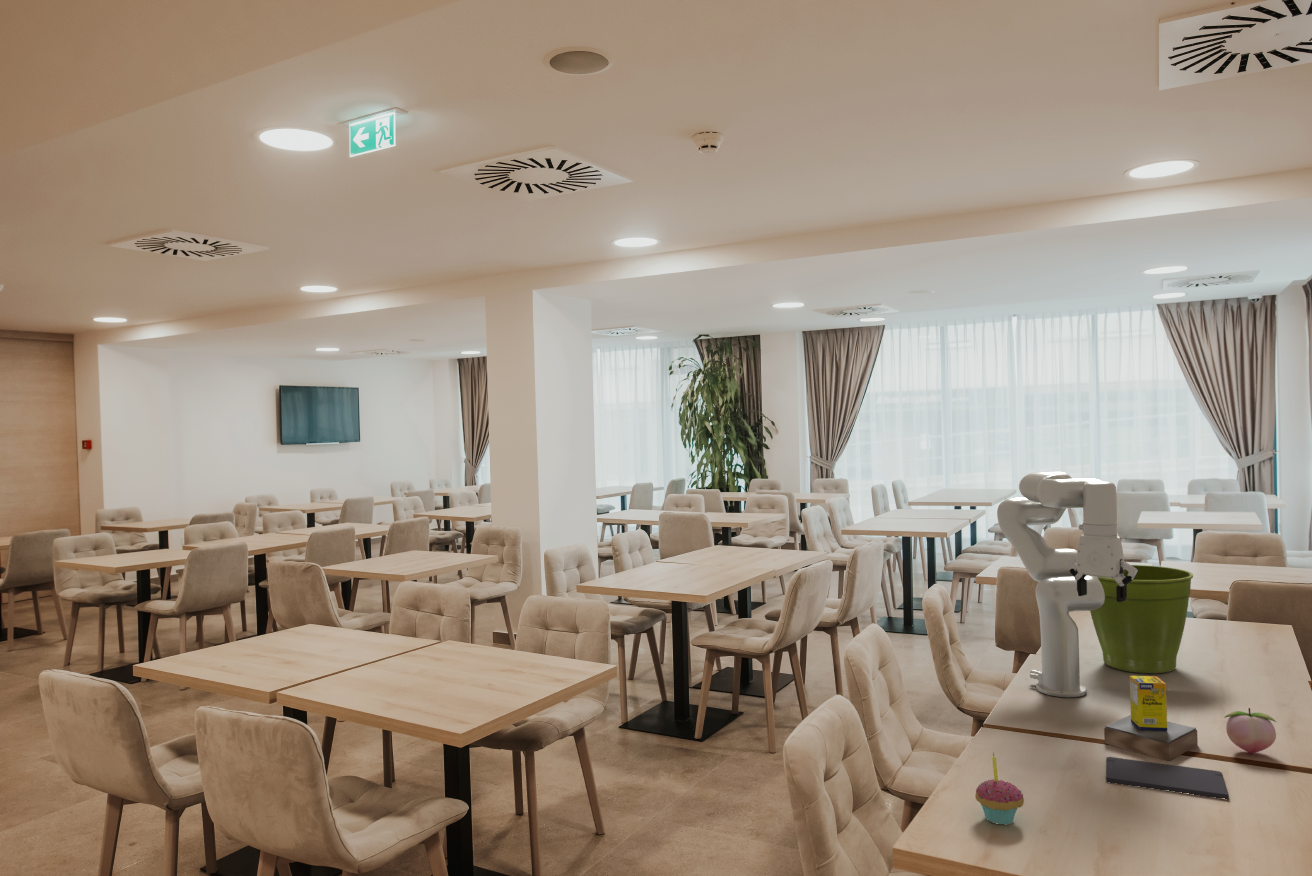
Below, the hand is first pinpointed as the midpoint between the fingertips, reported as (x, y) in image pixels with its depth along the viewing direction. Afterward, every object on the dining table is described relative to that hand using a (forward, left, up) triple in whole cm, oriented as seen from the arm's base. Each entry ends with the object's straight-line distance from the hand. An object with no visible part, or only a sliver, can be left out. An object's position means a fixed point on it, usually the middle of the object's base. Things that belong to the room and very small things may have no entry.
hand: (1101, 598), depth 216 cm
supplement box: (+16, -11, -26) cm, 32 cm away
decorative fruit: (+32, 0, -30) cm, 44 cm away
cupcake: (+16, -71, -30) cm, 79 cm away
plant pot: (-16, +52, -30) cm, 62 cm away
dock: (+16, -11, -30) cm, 36 cm away
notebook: (+27, -29, -31) cm, 50 cm away
